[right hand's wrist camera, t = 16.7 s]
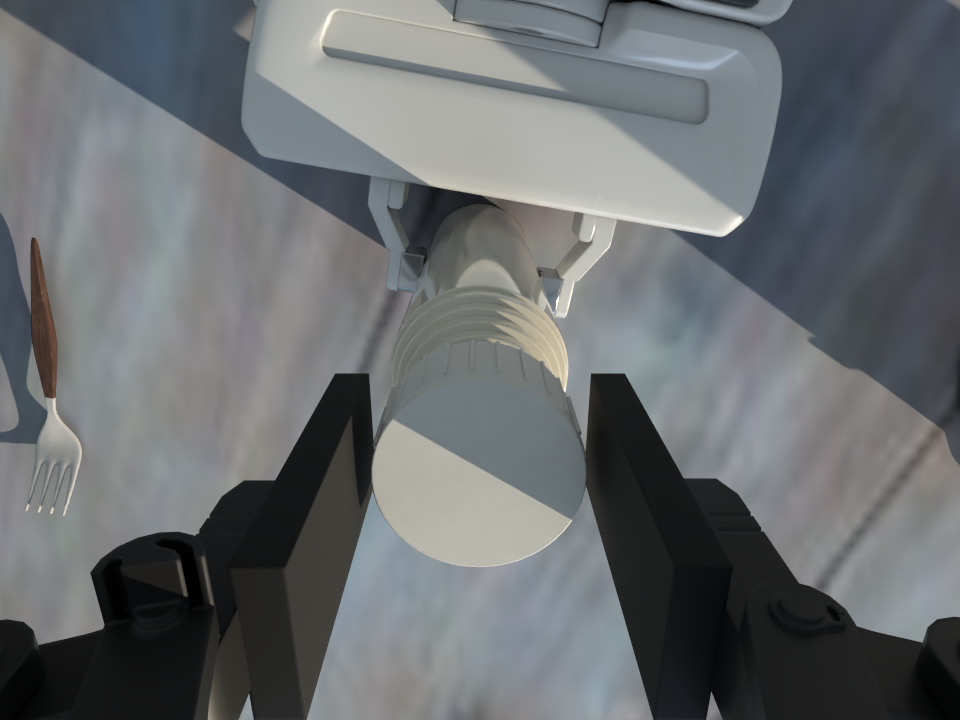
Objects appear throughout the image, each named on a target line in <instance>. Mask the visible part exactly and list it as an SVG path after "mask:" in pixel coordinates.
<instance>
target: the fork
mask: <svg viewBox="0 0 960 720" xmlns="http://www.w3.org/2000/svg"><path fill="white" fill-rule="evenodd" d="M31 335H32V343H33V349H34V354H35V358H36V363H37V367H38V371H39V375H40V379H41V383H42V387H43V391H44V395H45V400H46V404H47V412H48V414H47V419H46V421H45V423H44V425H43V427H42V429H41V431H40V433H39V436H38V439H37V444H36V454H35V465H34V471H33V476H32V481H31V486H30V491H29V496H28V500H27V504H26V508H25V511H27V510H28V507H29V504H30V501H31V498H32V495H33V492H34V489H35V486H36V483H37V480H38V476H39V473H40V469H41V466H42V464H43V463H46V474H45V479H44V485H43V490H42V494H41V499H40V504H39V508H38V512H40V510H41V507H42V504H43V501H44V498H45V495H46V492H47V489H48V485H49V482H50V479H51V475H52V472H53V469H54V467H55V465H58V467H59V471H58V477H57V483H56V488H55V493H54V498H53V502H52V507H51V511H50V514H52V512H53V510H54V507H55V504H56V501H57V497H58V494H59V491H60V488H61V485H62V481H63V478H64V474H65V471H66V469H67V467H68V466H70V467H71V474H70V480H69V486H68V491H67V496H66V501H65V506H64V510H63V513H62V515H63V516H64V515H65V513H66V509H67V506H68V503H69V500H70V497H71V494H72V490H73V487H74V484H75V480H76V476H77V472H78V469H79V465H80V461H81V455H82V449H81V445H80V442H79V440H78V439H77V437H76V436H75V434H74V433H73V432H72V431H71V430H70V429H69V428H68V427H67V426H66V425H65V424H64V423H63V421H62V420H61V419H60V418H59V416H58V414H57V412H56V378H57V339H56V332H55V327H54V322H53V317H52V313H51V308H50V304H49V299H48V294H47V289H46V283H45V277H44V271H43V266H42V260H41V255H40V251H39V247H38V243H37V240H36V238H32V240H31Z"/></svg>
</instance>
